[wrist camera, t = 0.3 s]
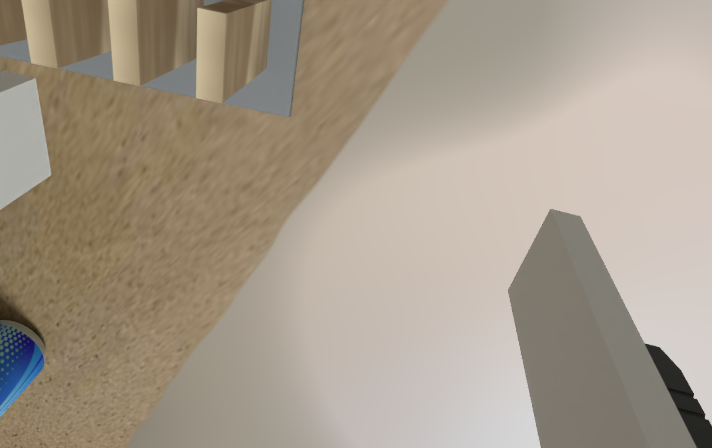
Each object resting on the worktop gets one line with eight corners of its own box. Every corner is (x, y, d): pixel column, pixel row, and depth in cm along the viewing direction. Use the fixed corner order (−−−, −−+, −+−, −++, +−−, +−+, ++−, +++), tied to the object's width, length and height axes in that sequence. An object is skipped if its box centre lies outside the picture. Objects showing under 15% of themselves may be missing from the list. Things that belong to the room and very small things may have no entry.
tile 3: (119, 37, 37) (31, 63, 28) (115, -35, 35) (16, -31, 26) (140, 41, 37) (57, 68, 28) (137, -31, 35) (45, -25, 26)
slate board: (-85, -134, 33) (-92, -135, 33) (310, -50, 33) (308, -50, 33) (-44, 44, 39) (-49, 45, 39) (290, 115, 39) (289, 117, 39)
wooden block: (246, 64, 37) (196, 97, 28) (250, -6, 35) (197, 7, 26) (266, 68, 37) (222, 103, 28) (272, -2, 35) (226, 13, 26)
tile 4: (183, 50, 37) (113, 80, 28) (183, -21, 35) (106, -12, 26) (203, 54, 37) (140, 86, 28) (204, -16, 35) (135, -6, 26)
